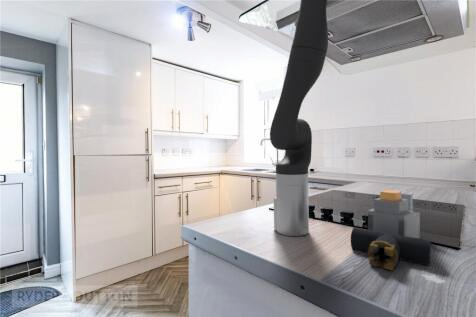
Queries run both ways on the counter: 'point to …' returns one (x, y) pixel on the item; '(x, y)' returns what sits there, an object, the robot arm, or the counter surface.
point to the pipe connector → (390, 247)
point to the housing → (394, 218)
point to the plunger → (390, 195)
